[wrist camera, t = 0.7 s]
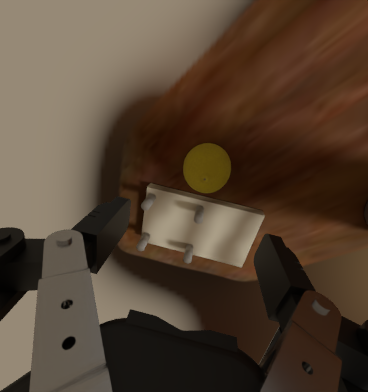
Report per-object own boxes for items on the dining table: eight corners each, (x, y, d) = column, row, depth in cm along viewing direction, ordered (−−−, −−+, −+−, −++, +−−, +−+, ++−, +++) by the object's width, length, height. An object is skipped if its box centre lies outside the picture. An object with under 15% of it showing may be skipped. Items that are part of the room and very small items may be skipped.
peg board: (262, 210, 28) (270, 228, 24) (240, 260, 33) (243, 282, 29) (150, 183, 29) (139, 195, 25) (143, 235, 34) (133, 253, 30)
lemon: (198, 131, 25) (191, 141, 18) (237, 149, 25) (244, 167, 18) (181, 168, 27) (169, 190, 20) (216, 184, 28) (216, 212, 21)
